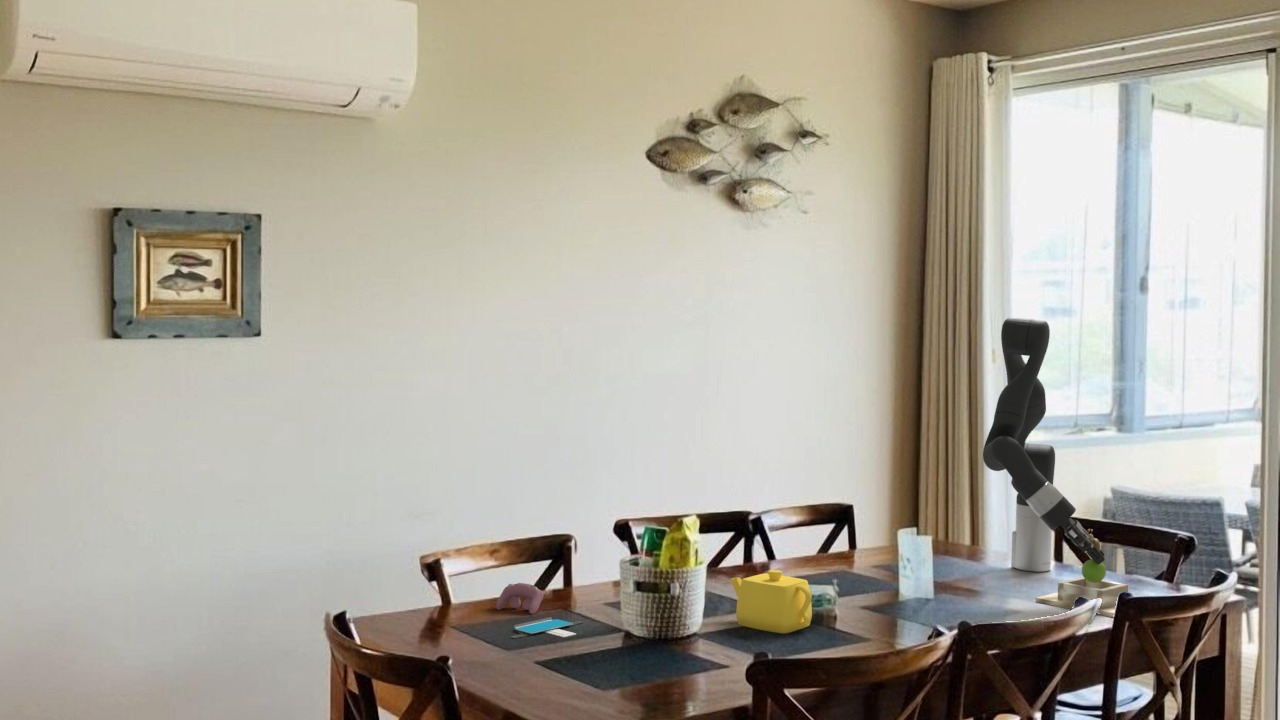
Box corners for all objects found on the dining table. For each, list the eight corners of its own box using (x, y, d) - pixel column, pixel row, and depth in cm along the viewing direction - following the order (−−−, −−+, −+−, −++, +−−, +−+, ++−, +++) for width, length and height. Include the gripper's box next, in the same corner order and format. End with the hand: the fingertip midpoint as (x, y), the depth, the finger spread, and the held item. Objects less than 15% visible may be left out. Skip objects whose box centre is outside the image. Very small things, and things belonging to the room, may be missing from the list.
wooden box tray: (1035, 601, 319) (1036, 580, 319) (1072, 593, 330) (1072, 572, 330) (1114, 617, 305) (1115, 595, 304) (1149, 607, 315) (1150, 586, 315)
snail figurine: (1099, 579, 320) (1101, 529, 320) (1109, 585, 314) (1111, 533, 314) (1076, 579, 320) (1078, 528, 320) (1085, 584, 314) (1088, 532, 313)
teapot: (715, 621, 294) (716, 567, 293) (748, 612, 303) (749, 559, 303) (793, 637, 281) (795, 581, 280) (825, 627, 291) (826, 572, 290)
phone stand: (534, 647, 271) (534, 638, 271) (494, 636, 279) (494, 628, 279) (603, 630, 286) (603, 622, 286) (564, 620, 294) (564, 612, 294)
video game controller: (541, 618, 300) (548, 588, 302) (532, 613, 296) (539, 582, 298) (502, 613, 304) (509, 583, 306) (493, 608, 300) (500, 577, 302)
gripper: (1062, 498, 312) (1114, 554, 308) (1063, 491, 325) (1113, 544, 322) (1037, 520, 314) (1089, 575, 310) (1039, 511, 327) (1089, 564, 324)
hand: (1101, 559), depth 316 cm, fingers closed on snail figurine, 5 cm apart
